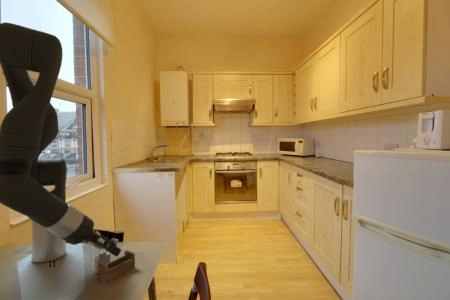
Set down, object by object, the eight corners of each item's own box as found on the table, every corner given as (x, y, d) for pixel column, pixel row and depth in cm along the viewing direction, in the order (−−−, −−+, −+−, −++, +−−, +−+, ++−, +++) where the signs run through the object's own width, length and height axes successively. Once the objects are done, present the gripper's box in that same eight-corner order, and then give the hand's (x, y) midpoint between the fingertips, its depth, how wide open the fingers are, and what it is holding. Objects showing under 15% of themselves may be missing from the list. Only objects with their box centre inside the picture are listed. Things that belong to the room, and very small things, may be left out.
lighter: (98, 273, 67) (98, 246, 66) (94, 272, 67) (94, 245, 67) (118, 262, 73) (118, 237, 73) (115, 261, 74) (115, 236, 74)
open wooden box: (97, 278, 64) (97, 262, 64) (126, 263, 72) (126, 249, 72) (106, 282, 62) (106, 266, 62) (134, 267, 70) (134, 253, 70)
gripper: (94, 215, 60) (132, 243, 69) (67, 208, 67) (105, 234, 77) (72, 243, 55) (116, 268, 65) (46, 231, 62) (89, 256, 72)
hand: (110, 249), depth 71 cm, fingers open, 8 cm apart
